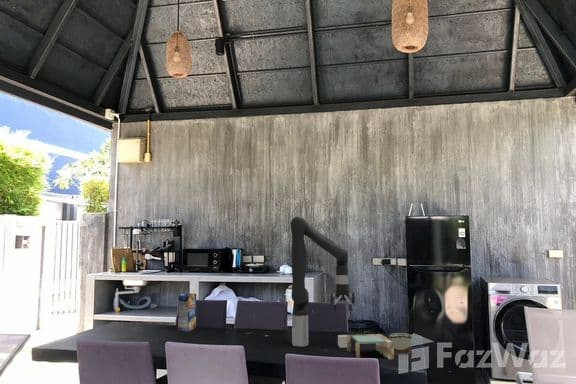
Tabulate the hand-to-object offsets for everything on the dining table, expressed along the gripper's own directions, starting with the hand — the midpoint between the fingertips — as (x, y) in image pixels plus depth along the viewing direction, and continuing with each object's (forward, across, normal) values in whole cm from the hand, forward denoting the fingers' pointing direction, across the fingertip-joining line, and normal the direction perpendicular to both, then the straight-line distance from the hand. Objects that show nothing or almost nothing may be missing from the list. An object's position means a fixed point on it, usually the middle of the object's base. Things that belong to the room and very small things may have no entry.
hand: (342, 311), depth 250 cm
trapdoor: (+12, +9, -20) cm, 25 cm away
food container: (+20, +27, -18) cm, 38 cm away
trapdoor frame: (+20, +9, -20) cm, 30 cm away
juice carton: (+21, -96, +62) cm, 116 cm away
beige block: (+20, 0, 0) cm, 20 cm away
